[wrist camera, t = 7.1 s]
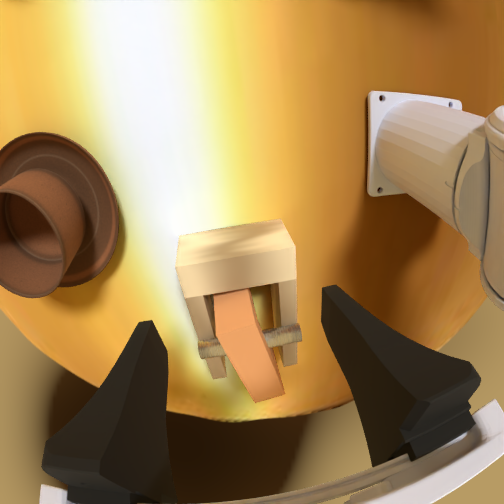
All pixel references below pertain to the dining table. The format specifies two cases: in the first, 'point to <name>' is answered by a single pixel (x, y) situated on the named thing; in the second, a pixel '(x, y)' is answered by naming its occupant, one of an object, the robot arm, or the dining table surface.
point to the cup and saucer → (53, 215)
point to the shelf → (240, 282)
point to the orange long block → (246, 344)
